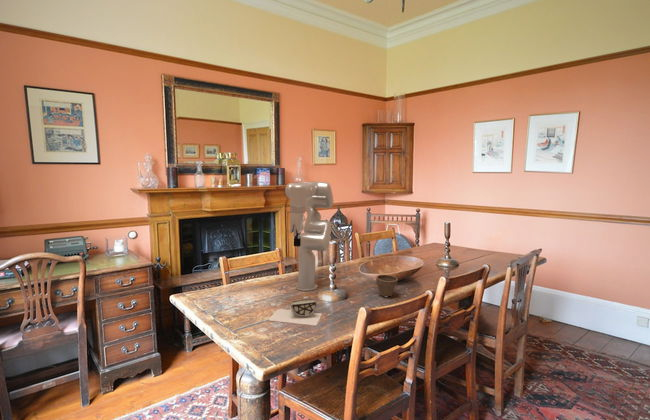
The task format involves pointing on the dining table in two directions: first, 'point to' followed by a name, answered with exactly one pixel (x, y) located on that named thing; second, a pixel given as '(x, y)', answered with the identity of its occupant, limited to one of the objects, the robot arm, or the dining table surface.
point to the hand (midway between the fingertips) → (297, 246)
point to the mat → (295, 317)
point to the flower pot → (386, 284)
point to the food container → (303, 307)
